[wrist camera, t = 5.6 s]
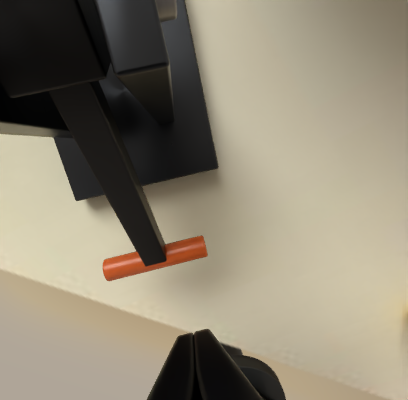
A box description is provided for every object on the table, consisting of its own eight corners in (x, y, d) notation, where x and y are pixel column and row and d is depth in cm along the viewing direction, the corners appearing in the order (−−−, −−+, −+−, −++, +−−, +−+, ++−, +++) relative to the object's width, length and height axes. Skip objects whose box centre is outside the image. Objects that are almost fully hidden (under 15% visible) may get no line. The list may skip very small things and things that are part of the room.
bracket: (216, 166, 17) (301, 214, 5) (82, 197, 16) (-145, 324, 5) (177, -23, 14) (176, -746, 3) (17, 7, 14) (-830, -722, 2)
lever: (202, 234, 14) (211, 272, 12) (112, 256, 13) (109, 298, 12) (128, -100, 5) (125, -133, 4) (-106, -61, 5) (-228, -77, 3)
